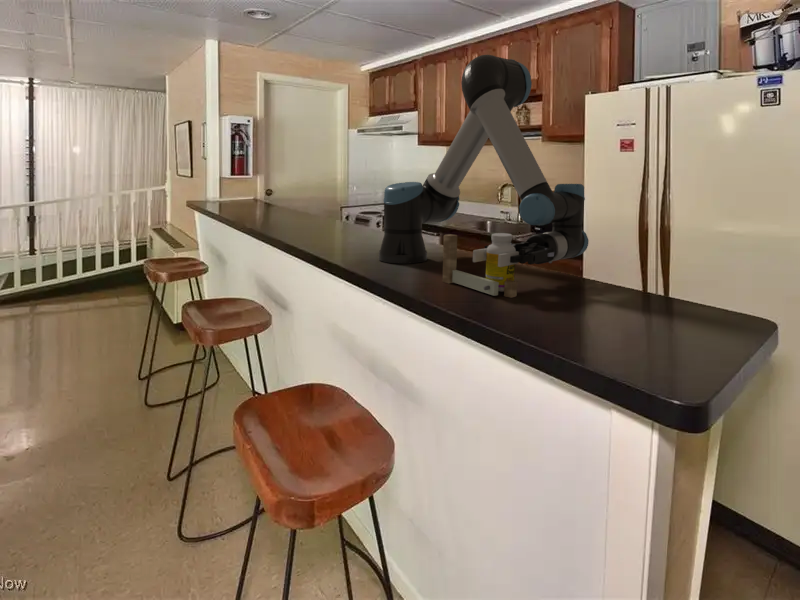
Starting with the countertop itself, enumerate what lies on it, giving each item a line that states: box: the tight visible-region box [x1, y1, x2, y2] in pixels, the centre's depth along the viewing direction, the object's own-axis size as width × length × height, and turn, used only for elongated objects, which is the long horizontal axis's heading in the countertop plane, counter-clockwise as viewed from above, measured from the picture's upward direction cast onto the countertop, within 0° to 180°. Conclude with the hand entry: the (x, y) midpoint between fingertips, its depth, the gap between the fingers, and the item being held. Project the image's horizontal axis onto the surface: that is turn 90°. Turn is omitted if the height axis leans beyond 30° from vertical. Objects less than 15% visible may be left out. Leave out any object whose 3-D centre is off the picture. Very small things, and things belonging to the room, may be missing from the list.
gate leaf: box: [452, 269, 499, 296], centre depth 128 cm, size 16×2×3 cm, turn 30°
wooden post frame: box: [442, 233, 518, 299], centre depth 128 cm, size 22×2×12 cm, turn 41°
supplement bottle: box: [485, 232, 516, 293], centre depth 124 cm, size 7×7×13 cm
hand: (486, 258), depth 121 cm, fingers closed on supplement bottle, 7 cm apart
